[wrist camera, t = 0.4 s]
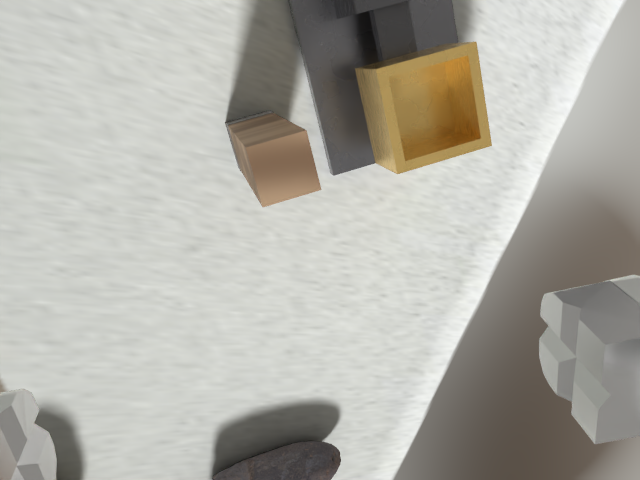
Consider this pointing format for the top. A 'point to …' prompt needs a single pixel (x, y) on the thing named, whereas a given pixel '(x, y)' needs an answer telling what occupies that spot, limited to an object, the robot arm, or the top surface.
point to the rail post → (273, 157)
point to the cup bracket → (391, 82)
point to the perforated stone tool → (288, 464)
